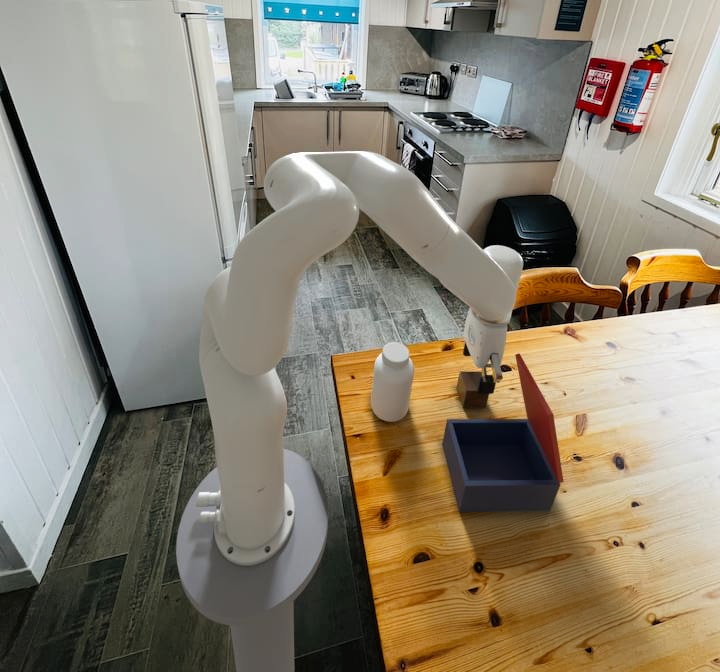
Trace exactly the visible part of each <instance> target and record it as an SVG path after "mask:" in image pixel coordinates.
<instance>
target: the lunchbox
mask: <svg viewBox="0 0 720 672" xmlns="http://www.w3.org/2000/svg"><path fill="white" fill-rule="evenodd" d="M445 423H446V424H445V428H444V433H443V437H442V449H443V453H444V457H445V461H446V465H447V469H448V473H449V478H450V481H451V486H452V489H453V494H454V497H455V498H454V499H455V501H456V506H457V511H458V513H489V512H490V513H491V512H492V513H493V512H494V513H496V512H500V513H501V512H546V511H547V512H549V511H551V510H552V507H553V505H554V503H555V500H556V497H557V495H558V493H559V489H560V487H561V483H558V480H557V478H556V476H555V474H554V472H553V470H552V468H551V466H550V464H549V462H548V460H547V458H546V456H545V454H544V451H543V449H542V447H541V445H540V443H539V441H538V439H537V437H536V435H535V433H534V431H533V429H532V427H531V424H530V422H529V420H528V418H455V419H454V418H447V419H446V422H445Z"/></svg>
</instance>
